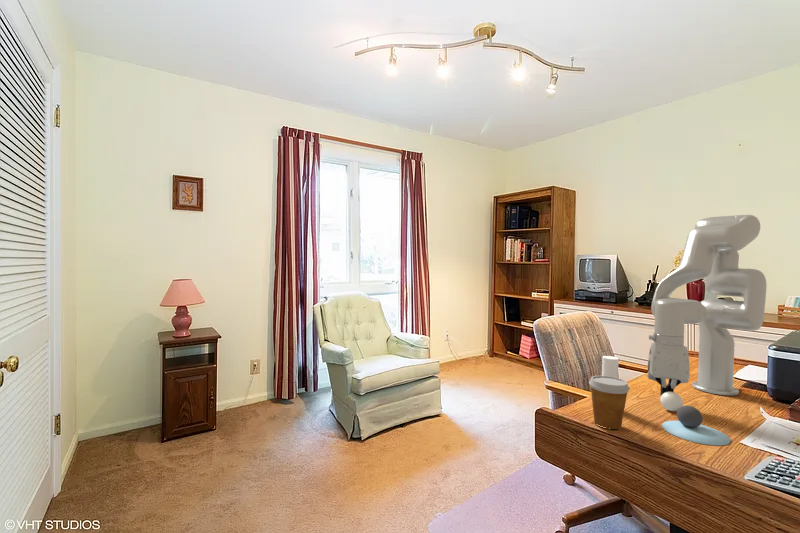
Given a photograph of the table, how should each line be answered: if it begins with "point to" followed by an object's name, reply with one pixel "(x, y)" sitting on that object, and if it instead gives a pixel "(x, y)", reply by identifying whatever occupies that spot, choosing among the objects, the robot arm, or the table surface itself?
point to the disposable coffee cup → (608, 400)
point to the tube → (610, 366)
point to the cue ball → (671, 401)
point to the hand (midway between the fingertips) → (666, 399)
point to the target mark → (696, 433)
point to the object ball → (689, 416)
